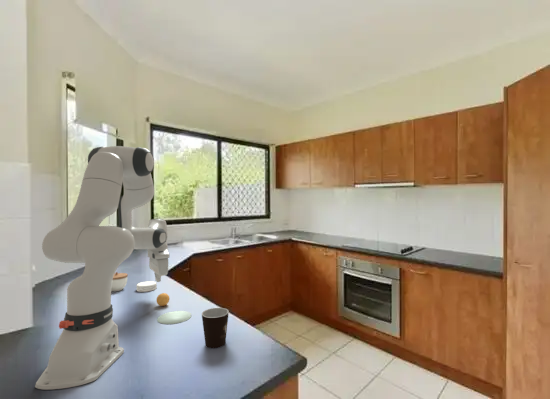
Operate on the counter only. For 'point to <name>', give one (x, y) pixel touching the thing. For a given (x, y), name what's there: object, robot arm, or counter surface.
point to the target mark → (174, 317)
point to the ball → (162, 299)
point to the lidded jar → (119, 281)
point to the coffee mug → (215, 326)
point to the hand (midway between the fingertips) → (158, 281)
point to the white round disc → (146, 286)
